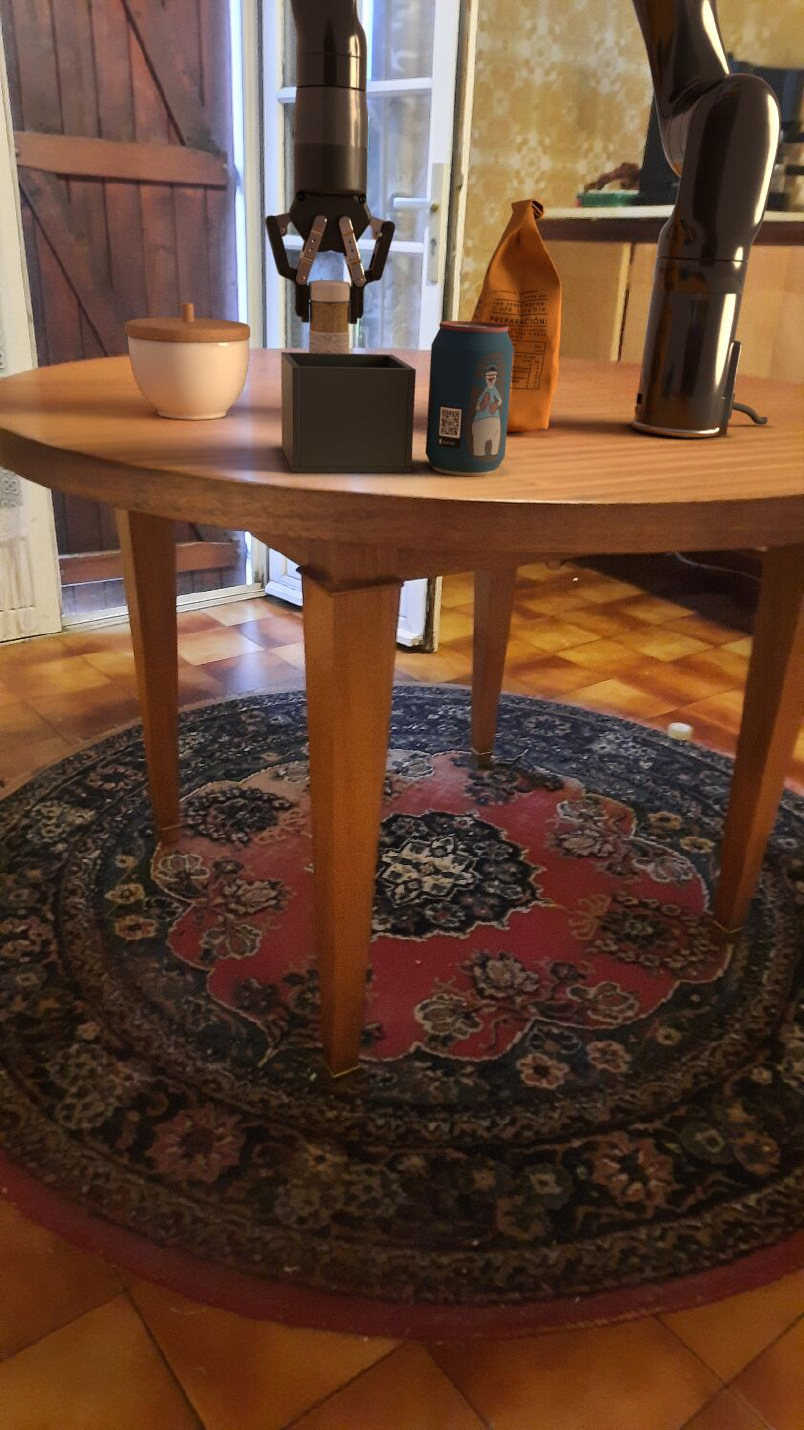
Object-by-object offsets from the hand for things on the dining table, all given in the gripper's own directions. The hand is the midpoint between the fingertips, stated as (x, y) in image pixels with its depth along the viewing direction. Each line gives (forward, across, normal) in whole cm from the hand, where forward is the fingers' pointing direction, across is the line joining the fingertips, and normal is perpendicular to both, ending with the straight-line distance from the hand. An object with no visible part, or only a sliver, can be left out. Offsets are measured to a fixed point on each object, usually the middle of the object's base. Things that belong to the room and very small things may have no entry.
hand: (329, 322), depth 110 cm
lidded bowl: (+10, -15, -3) cm, 18 cm away
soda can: (+10, +8, -30) cm, 32 cm away
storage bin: (+9, -2, -26) cm, 28 cm away
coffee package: (+10, +18, -9) cm, 22 cm away
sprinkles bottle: (+10, 0, 0) cm, 10 cm away
